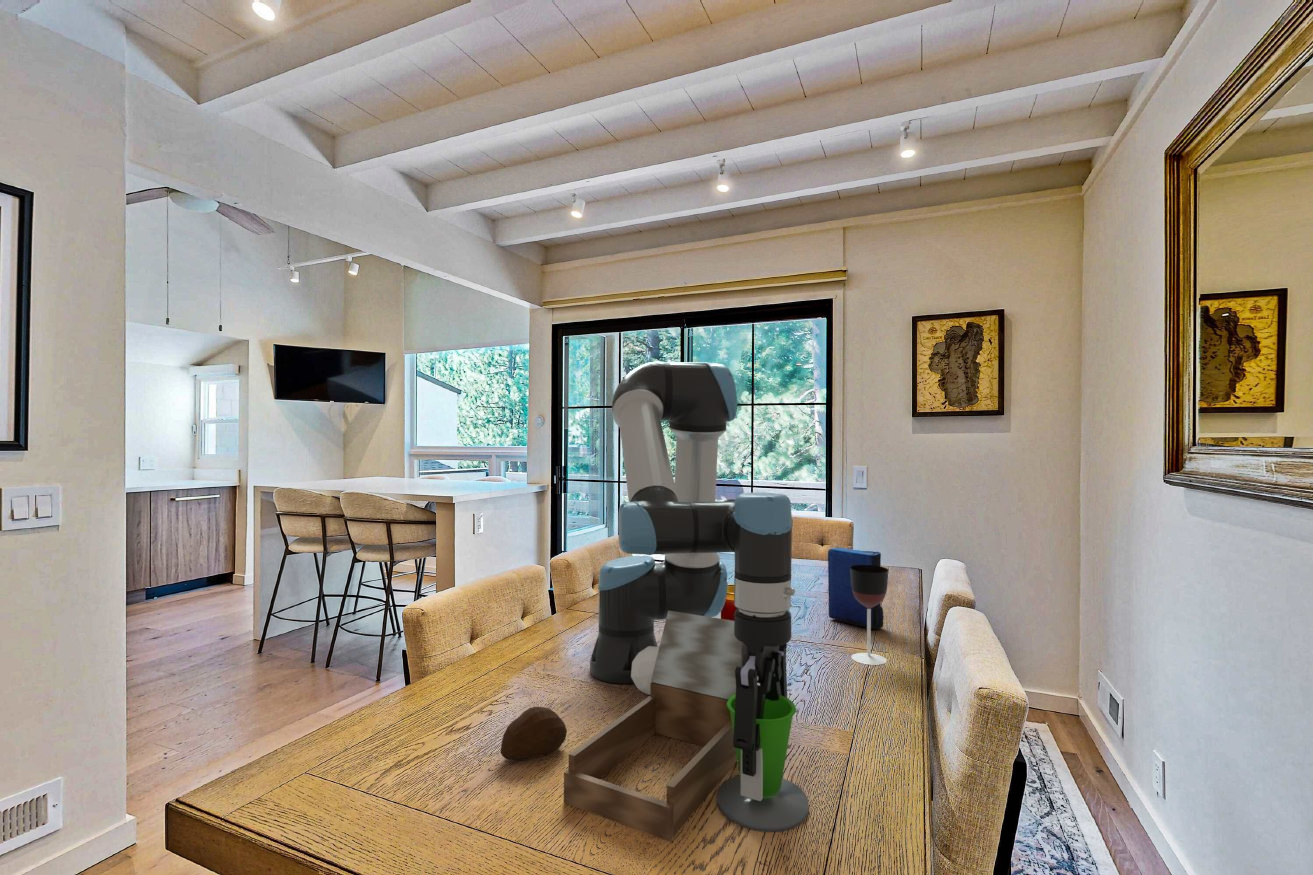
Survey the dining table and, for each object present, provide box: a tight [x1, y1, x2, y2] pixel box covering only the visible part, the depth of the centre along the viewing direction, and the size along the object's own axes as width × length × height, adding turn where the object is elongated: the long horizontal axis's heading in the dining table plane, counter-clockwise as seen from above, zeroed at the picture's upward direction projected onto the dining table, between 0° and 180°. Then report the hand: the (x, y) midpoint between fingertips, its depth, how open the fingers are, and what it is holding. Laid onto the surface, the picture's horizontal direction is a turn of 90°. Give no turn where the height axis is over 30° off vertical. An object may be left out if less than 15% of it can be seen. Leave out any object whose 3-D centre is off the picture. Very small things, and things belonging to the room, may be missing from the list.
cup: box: [727, 694, 797, 798], centre depth 81 cm, size 9×9×11 cm
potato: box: [500, 706, 568, 762], centre depth 94 cm, size 7×10×7 cm
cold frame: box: [563, 611, 746, 842], centre depth 91 cm, size 16×30×19 cm, turn 151°
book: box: [827, 546, 884, 630], centre depth 162 cm, size 14×5×20 cm, turn 42°
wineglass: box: [850, 565, 889, 666], centre depth 136 cm, size 8×9×20 cm
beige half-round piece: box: [631, 646, 659, 696], centre depth 116 cm, size 9×9×12 cm
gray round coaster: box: [716, 774, 810, 833], centre depth 81 cm, size 12×12×1 cm
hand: (762, 781), depth 81 cm, fingers closed on cup, 7 cm apart
